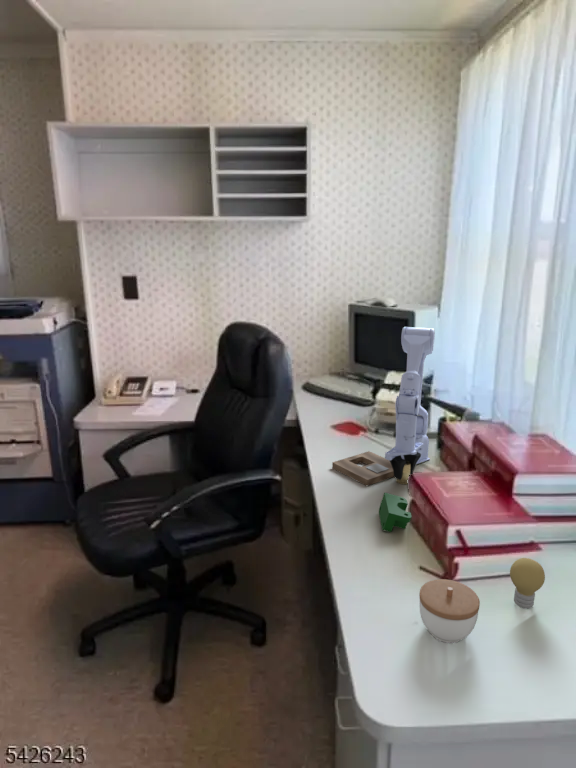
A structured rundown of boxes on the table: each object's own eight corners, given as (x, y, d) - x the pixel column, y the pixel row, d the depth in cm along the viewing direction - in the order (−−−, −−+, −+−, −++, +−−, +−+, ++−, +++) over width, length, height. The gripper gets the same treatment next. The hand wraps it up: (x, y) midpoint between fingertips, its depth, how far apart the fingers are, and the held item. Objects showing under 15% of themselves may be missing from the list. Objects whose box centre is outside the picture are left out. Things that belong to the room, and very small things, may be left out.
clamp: (400, 545, 140) (412, 524, 135) (377, 539, 140) (388, 518, 135) (400, 508, 150) (411, 487, 144) (379, 503, 150) (389, 481, 144)
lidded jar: (435, 605, 111) (438, 564, 109) (486, 631, 104) (490, 588, 101) (406, 632, 104) (409, 588, 101) (459, 661, 96) (463, 616, 94)
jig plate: (368, 456, 185) (369, 450, 184) (404, 472, 172) (404, 466, 172) (332, 468, 176) (332, 461, 175) (367, 486, 163) (367, 478, 163)
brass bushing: (402, 477, 169) (403, 459, 168) (412, 482, 166) (413, 463, 164) (393, 480, 167) (394, 462, 165) (403, 485, 164) (404, 466, 162)
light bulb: (512, 590, 116) (517, 548, 113) (544, 603, 112) (550, 559, 109) (501, 606, 111) (507, 562, 108) (535, 619, 107) (541, 574, 104)
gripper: (398, 443, 155) (396, 487, 159) (432, 433, 163) (429, 475, 167) (380, 436, 161) (378, 479, 164) (414, 426, 169) (412, 467, 173)
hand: (403, 476), depth 166 cm, fingers closed on brass bushing, 4 cm apart
